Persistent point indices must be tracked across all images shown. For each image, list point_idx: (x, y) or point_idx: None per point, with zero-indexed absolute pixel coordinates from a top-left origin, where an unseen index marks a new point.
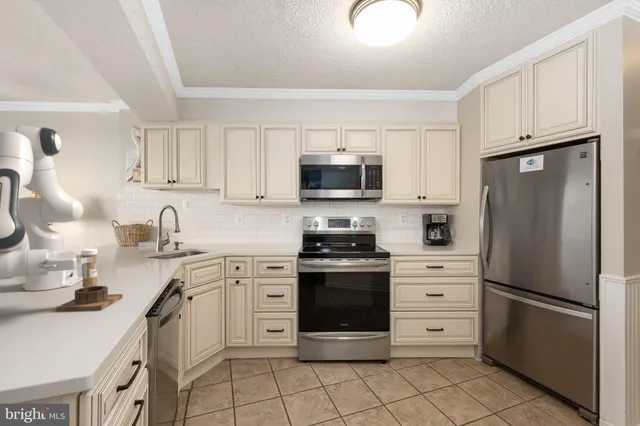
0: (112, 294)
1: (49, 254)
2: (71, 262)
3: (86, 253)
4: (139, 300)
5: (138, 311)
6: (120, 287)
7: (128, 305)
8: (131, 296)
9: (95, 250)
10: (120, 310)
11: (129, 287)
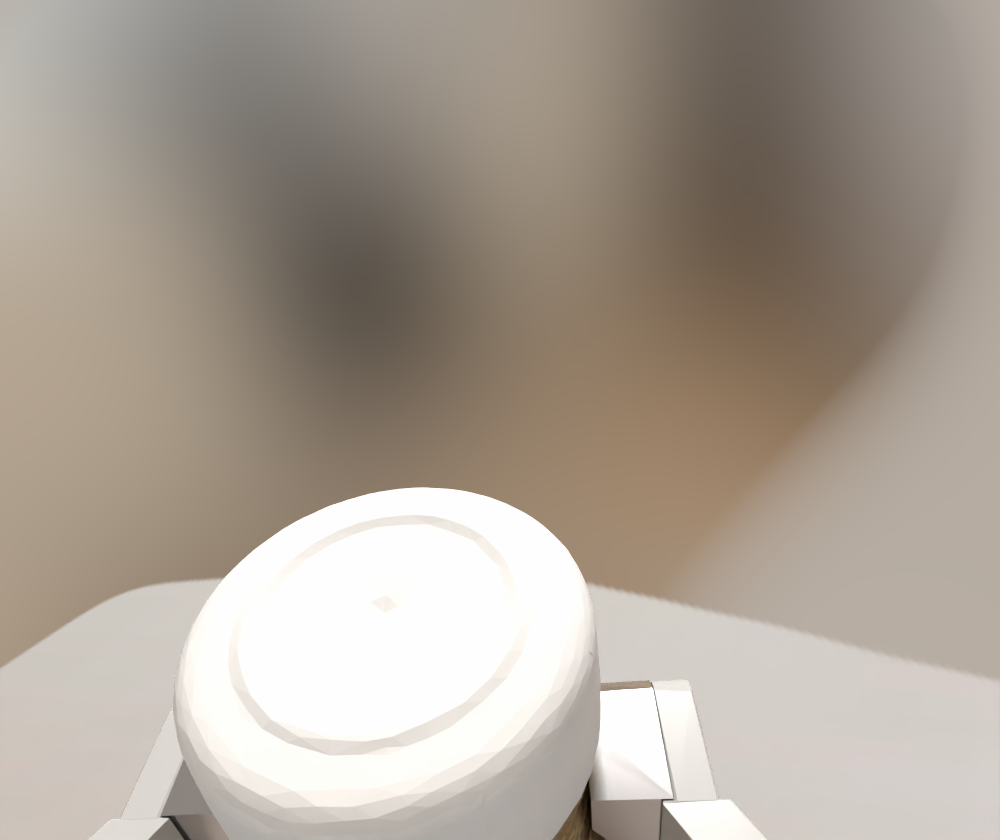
0: None
1: None
2: None
3: (591, 742)
4: (641, 649)
5: (989, 681)
6: (46, 745)
7: (765, 732)
8: None
9: (524, 521)
10: (918, 804)
11: (131, 680)
